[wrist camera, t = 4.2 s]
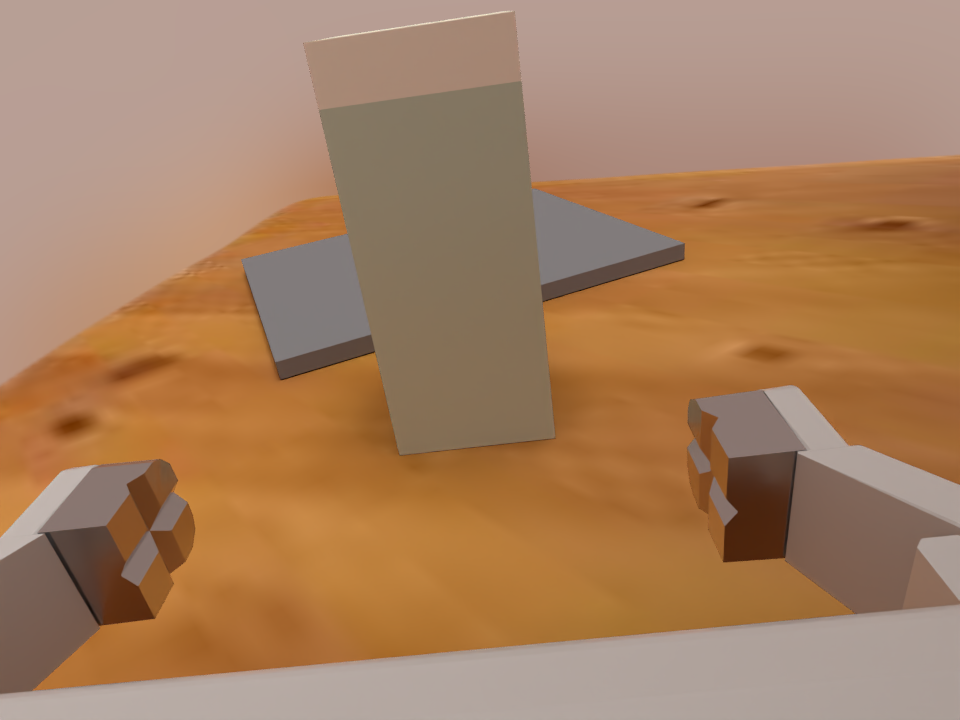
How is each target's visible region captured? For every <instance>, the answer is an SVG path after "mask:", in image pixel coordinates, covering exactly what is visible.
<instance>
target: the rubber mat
mask: <svg viewBox="0 0 960 720" xmlns="http://www.w3.org/2000/svg"><path fill="white" fill-rule="evenodd" d="M532 197H533V208H534V218H535V229H536V239H537V250H538V260H539V271H540V281H541V292H542V301H545V300H548V299H551V298H555V297H558V296H561V295H565V294H568V293H572V292H575V291H578V290H582V289H585V288H588V287H592V286H595V285H598V284H602V283H605V282H608V281H612V280H615V279H618V278H622V277H625V276H628V275H632V274H635V273H638V272H642V271H645V270H648V269H652V268H655V267H658V266H662V265H665V264H668V263H672V262H675V261H678V260H682V259H684V249H685V243H682V242H680V241H677V240H674V239H672V238H669V237H666V236H663V235H661V234H658V233H655V232H652V231H650V230H647V229H644V228H641V227H639V226H636V225H633V224H630V223H628V222H625V221H622V220H619V219H617V218H614V217H611V216H609V215H606V214H603V213H600V212H598V211H595V210H592V209H589V208H587V207H584V206H581V205H578V204H576V203H573V202H570V201H567V200H565V199H562V198H559V197H556V196H554V195H551V194H548V193H546V192H543V191H540V190H537V189H532ZM241 260H242V263H243V267H244V270H245V273H246V276H247V279H248V282H249V285H250V288H251V291H252V294H253V297H254V300H255V303H256V306H257V309H258V312H259V315H260V318H261V321H262V324H263V327H264V330H265V333H266V336H267V339H268V342H269V345H270V348H271V351H272V354H273V357H274V360H275V363H276V366H277V369H278V372H279V376H280V379H284V378H287V377H291V376H294V375H297V374H301V373H304V372H307V371H311V370H314V369H317V368H321V367H324V366H327V365H331V364H334V363H337V362H341V361H344V360H348V359H351V358H354V357H358V356H361V355H364V354H368V353H371V352H374V351H375V349H374V344H373V340H372V336H371V331H370V327H369V323H368V319H367V314H366V310H365V306H364V301H363V297H362V293H361V289H360V284H359V280H358V276H357V271H356V267H355V263H354V259H353V254H352V250H351V246H350V241H349V237H348V234H345V235H341V236H336V237H332V238H328V239H324V240H320V241H316V242H312V243H308V244H303V245H299V246H295V247H291V248H287V249H283V250H279V251H274V252H270V253H266V254H262V255H258V256H254V257H250V258H245V259H241Z"/></svg>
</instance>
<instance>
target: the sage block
mask: <svg viewBox="0 0 960 720" xmlns="http://www.w3.org/2000/svg"><path fill="white" fill-rule="evenodd" d="M303 44H304V49H305V53H306V57H307V62H308V66H309V70H310V74H311V78H312V83H313V87H314V92H315V95H316V100H317V104H318V109H319V113H320V117H321V121H322V126H323V130H324V134H325V139H326V143H327V147H328V151H329V156H330V160H331V164H332V169H333V173H334V177H335V181H336V186H337V190H338V194H339V199H340V203H341V207H342V211H343V216H344V220H345V224H346V229H347V233H348V237H349V241H350V246H351V250H352V254H353V259H354V263H355V267H356V271H357V276H358V280H359V284H360V289H361V293H362V297H363V301H364V306H365V310H366V314H367V319H368V323H369V327H370V331H371V336H372V340H373V344H374V349H375V353H376V357H377V361H378V366H379V370H380V374H381V378H382V383H383V387H384V391H385V396H386V400H387V404H388V408H389V413H390V417H391V421H392V426H393V430H394V434H395V438H396V443H397V447H398V451H399V455H407V454H416V453H426V452H435V451H444V450H453V449H462V448H471V447H480V446H489V445H498V444H507V443H516V442H525V441H534V440H543V439H552V438H555V428H554V417H553V407H552V397H551V386H550V376H549V365H548V355H547V344H546V334H545V323H544V313H543V302H542V292H541V281H540V271H539V260H538V250H537V239H536V229H535V218H534V208H533V197H532V187H531V178H530V168H529V156H528V146H527V136H526V125H525V114H524V103H523V94H522V83H521V72H520V62H519V51H518V40H517V31H516V20H515V11H504V12H497V13H490V14H484V15H477V16H470V17H463V18H457V19H450V20H443V21H437V22H430V23H424V24H417V25H410V26H403V27H397V28H390V29H384V30H377V31H370V32H364V33H357V34H350V35H343V36H338V37H333V38H327V39H321V40H316V41H311V42H305V43H303Z"/></svg>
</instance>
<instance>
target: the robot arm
mask: <svg viewBox="0 0 960 720" xmlns="http://www.w3.org/2000/svg"><path fill="white" fill-rule="evenodd" d="M688 425H689V427H690V429H691V431H692V433H693V435H694V437H695V438H694V440H693V441H692V442H691V444H690V445H689V446H688V447H687V466H688V473H689V480H690V485H691V489H692V492H693V495H694V498H695V500H696V503H697V505H698V508H699V509H701V510H703V511H704V512H706V513H708V530H709V532H710V535H711V537H712V539H713V541H714V543H715V545H716V548H717V550H718V552H719V554H720V556H721V559H722V561H723V562H737V561H751V560H765V559H778V558H785V561H786V562H787V563H789V564H790V565H791V566H793V567H794V568H795V569H797V570H798V571H799V572H801V573H802V574H803V575H805V576H806V577H808V578H809V579H810V580H812V581H813V582H814V583H816V584H817V585H818V586H820V587H821V588H822V589H824V590H825V591H826V592H828V593H829V594H830V595H832V596H833V597H834V598H836V599H837V600H838V601H840V602H841V603H842V604H844V605H845V606H846V607H848V608H849V609H850V610H852V611H853V612H854V613H856V614H851V615H840V616H829V617H818V618H808V619H797V620H787V621H777V622H767V623H757V624H746V625H735V626H725V627H714V628H703V629H692V630H681V631H670V632H660V633H649V634H638V635H627V636H616V637H606V638H595V639H584V640H573V641H562V642H551V643H541V644H530V645H519V646H508V647H497V648H486V649H476V650H465V651H454V652H443V653H433V654H422V655H412V656H401V657H391V658H380V659H370V660H359V661H349V662H338V663H328V664H317V665H307V666H296V667H285V668H275V669H264V670H253V671H242V672H232V673H221V674H210V675H199V676H188V677H178V678H167V679H156V680H145V681H135V682H124V683H113V684H102V685H92V686H81V687H70V688H59V689H48V690H38V691H32V690H33V689H35V688H36V687H37V686H38V685H39V684H40V683H41V682H42V681H43V680H44V679H45V678H47V677H48V676H49V675H50V674H51V673H52V672H53V671H54V670H55V669H56V668H57V667H59V666H60V665H61V664H62V663H63V662H64V661H65V660H66V659H67V658H68V657H69V656H71V655H72V654H73V653H74V652H75V651H76V650H77V649H78V648H79V647H80V646H82V645H83V644H84V643H85V642H86V641H87V640H88V639H89V638H90V637H91V636H92V635H94V634H95V633H96V632H97V631H98V630H99V629H100V627H99V626H102V625H110V624H118V623H125V622H133V621H141V620H149V619H155V618H156V616H157V614H158V612H159V611H160V609H161V607H162V605H163V603H164V601H165V599H166V598H167V596H168V594H169V592H170V590H171V588H172V586H173V584H174V583H173V580H172V578H171V575H170V573H172V572H173V571H174V570H175V569H177V568H178V567H179V566H181V565H182V564H183V563H184V562H186V560H187V558H188V556H189V554H190V552H191V550H192V548H193V542H194V535H195V525H194V519H193V514H192V512H191V509H190V507H189V504H188V502H186V501H185V500H183V499H182V498H181V497H179V496H178V495H176V494H175V493H174V490H175V487H176V484H177V482H178V479H177V477H176V475H175V473H174V471H173V469H172V467H171V465H170V464H169V463H167V462H165V461H163V460H161V459H156V460H146V461H135V462H124V463H113V464H103V465H92V466H84V467H76V468H70V469H67V470H64V471H61V472H60V473H59V474H58V476H57V477H56V478H55V479H54V480H53V481H52V482H51V483H50V484H49V485H48V486H47V488H46V489H45V490H44V491H43V492H42V493H41V494H40V495H39V496H38V497H37V498H36V500H35V501H34V502H33V503H32V504H31V505H30V506H29V507H28V508H27V509H26V510H25V512H24V513H23V514H22V515H21V516H20V517H19V518H18V519H17V520H16V521H15V522H14V524H13V525H12V526H11V527H10V528H9V529H8V530H7V531H6V532H5V533H4V534H3V536H2V537H1V538H0V720H960V485H958V484H956V483H953V482H951V481H948V480H946V479H944V478H941V477H939V476H936V475H934V474H931V473H929V472H926V471H924V470H921V469H919V468H916V467H914V466H911V465H909V464H906V463H904V462H901V461H899V460H896V459H894V458H891V457H889V456H886V455H884V454H881V453H879V452H876V451H874V450H871V449H869V448H866V447H864V446H861V445H855V446H849V445H848V444H847V443H846V442H845V441H844V439H843V438H842V437H841V436H840V435H839V434H838V433H837V431H836V430H835V429H834V428H833V427H832V426H831V425H830V423H829V422H828V421H827V420H826V419H825V418H824V416H823V415H822V414H821V413H820V412H819V411H818V410H817V408H816V407H815V406H814V405H813V404H812V403H811V402H810V400H809V399H808V398H807V397H806V396H805V395H804V393H803V392H802V391H801V390H800V389H799V388H798V387H796V386H793V385H789V386H782V387H776V388H769V389H762V390H758V391H750V392H743V393H736V394H728V395H721V396H714V397H706V398H699V399H692V400H690V402H689V407H688Z"/></svg>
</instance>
